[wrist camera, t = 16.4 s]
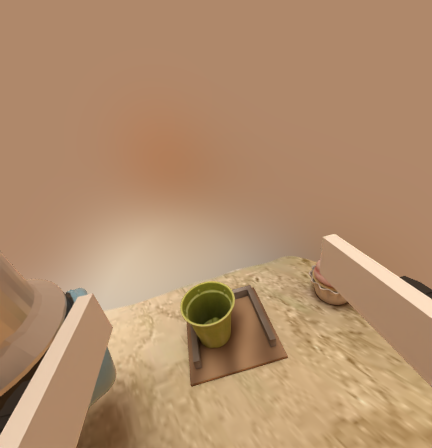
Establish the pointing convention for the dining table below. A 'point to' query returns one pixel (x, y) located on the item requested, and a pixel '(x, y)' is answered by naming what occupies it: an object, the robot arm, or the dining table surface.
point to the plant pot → (209, 312)
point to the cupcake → (325, 287)
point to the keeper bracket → (236, 342)
